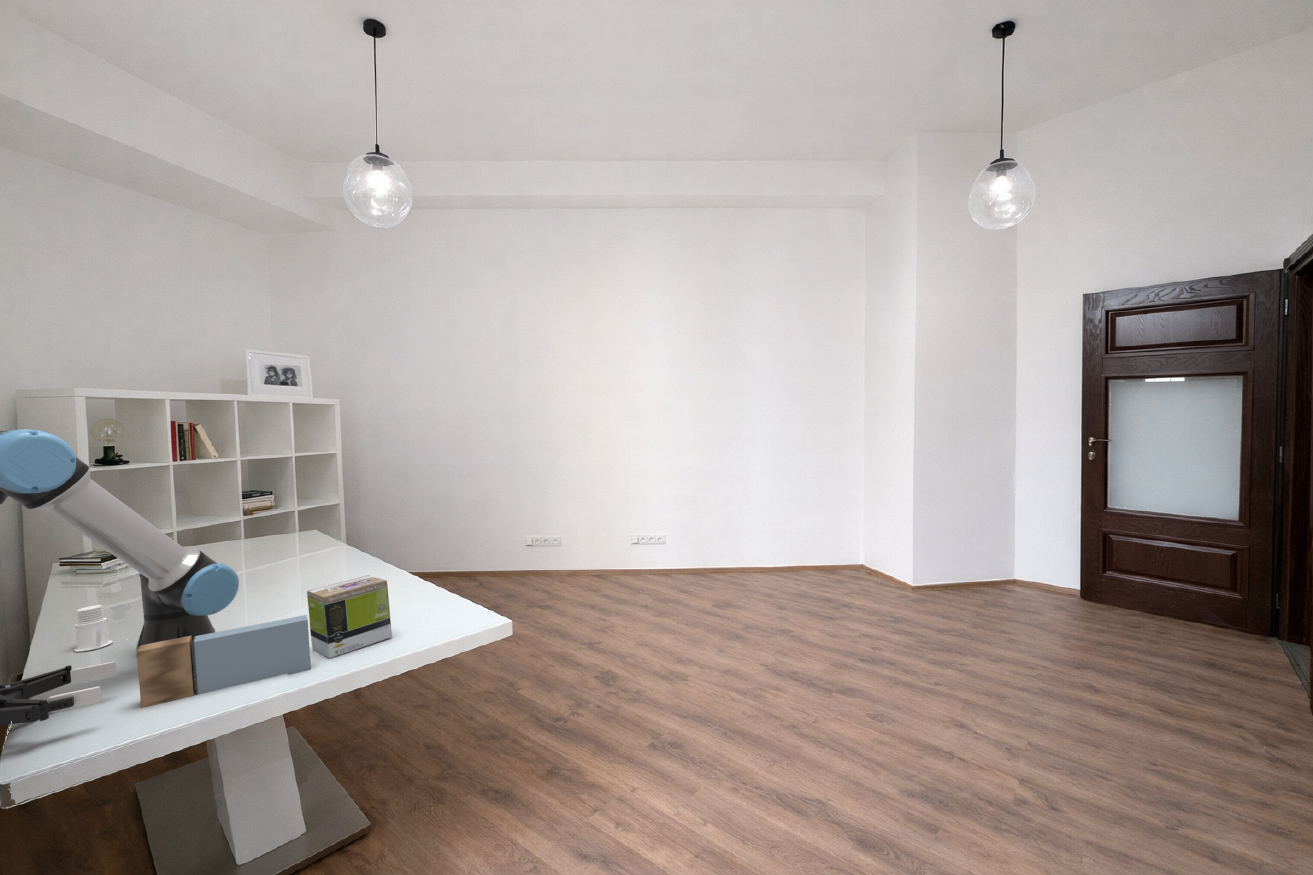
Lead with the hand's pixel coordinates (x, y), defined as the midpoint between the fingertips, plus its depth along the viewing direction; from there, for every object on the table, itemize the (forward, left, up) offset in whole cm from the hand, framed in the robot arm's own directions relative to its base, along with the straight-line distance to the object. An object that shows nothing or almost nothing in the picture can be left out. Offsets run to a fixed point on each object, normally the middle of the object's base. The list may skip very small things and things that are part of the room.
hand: (108, 680), depth 113 cm
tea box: (-29, +32, -7) cm, 44 cm away
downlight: (-37, -35, -7) cm, 52 cm away
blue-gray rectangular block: (-12, +20, -6) cm, 24 cm away
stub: (-5, +7, -6) cm, 11 cm away
